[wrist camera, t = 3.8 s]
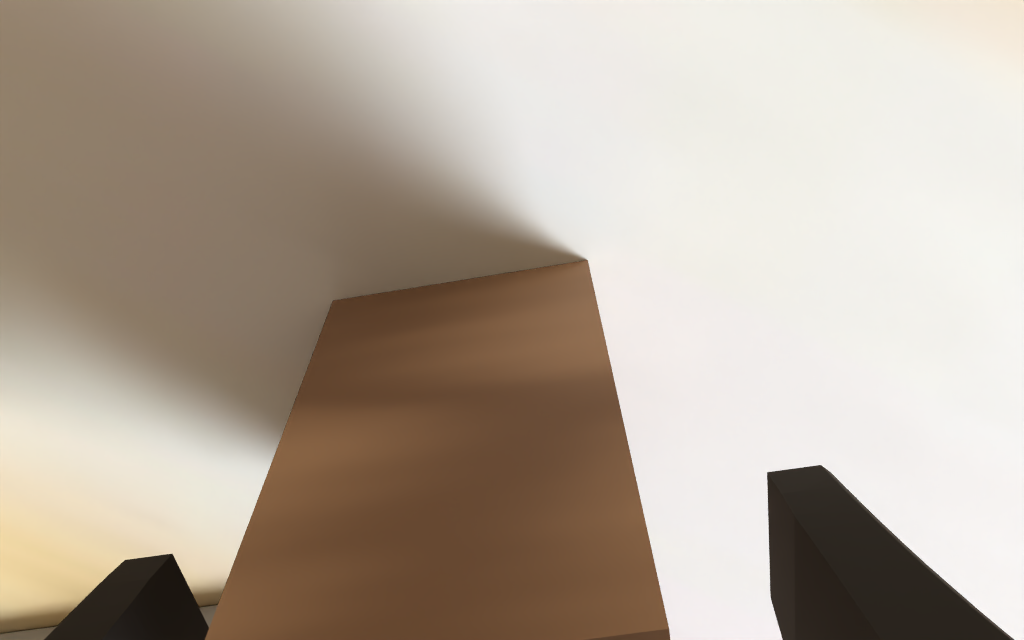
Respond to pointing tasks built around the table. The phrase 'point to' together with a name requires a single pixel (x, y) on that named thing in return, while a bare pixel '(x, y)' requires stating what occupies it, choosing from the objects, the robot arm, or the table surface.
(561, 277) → the walnut block
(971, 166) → the table surface
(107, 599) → the robot arm
